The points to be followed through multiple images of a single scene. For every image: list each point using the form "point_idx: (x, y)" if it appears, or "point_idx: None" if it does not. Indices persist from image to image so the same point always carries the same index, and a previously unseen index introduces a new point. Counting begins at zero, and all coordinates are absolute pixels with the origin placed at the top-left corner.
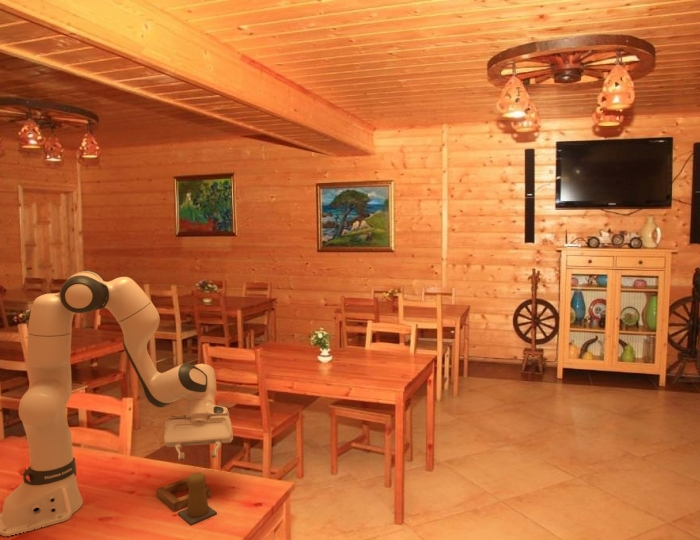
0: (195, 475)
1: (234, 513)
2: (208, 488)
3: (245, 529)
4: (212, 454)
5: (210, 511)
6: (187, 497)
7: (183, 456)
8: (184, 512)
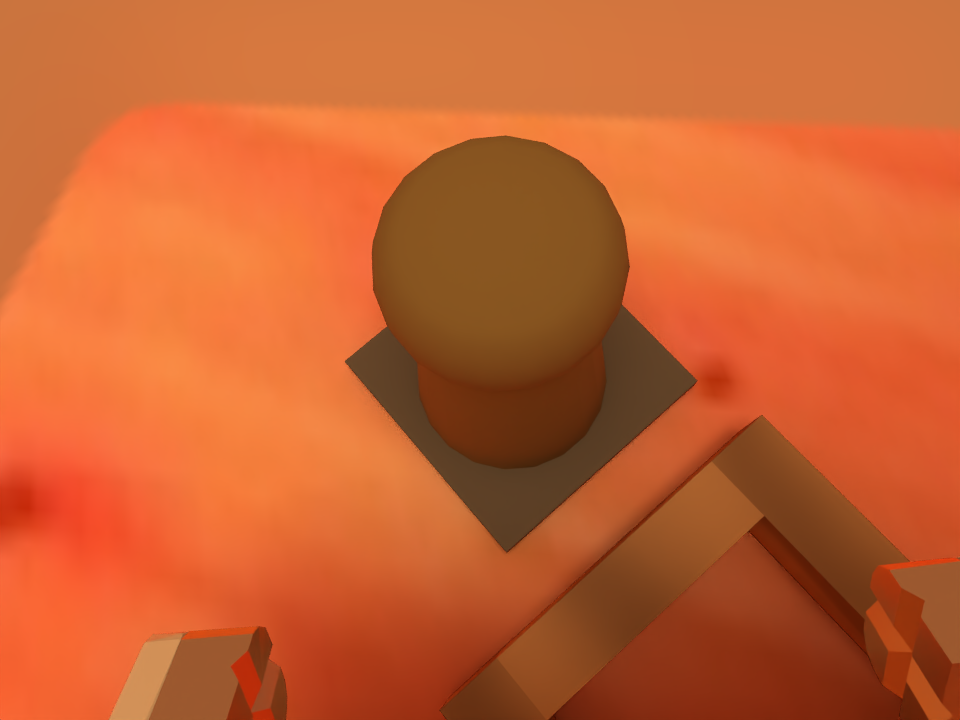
0: (497, 208)
1: (204, 369)
2: (475, 714)
3: (112, 155)
4: (222, 638)
5: (401, 375)
6: (659, 526)
7: (895, 592)
8: (632, 374)
